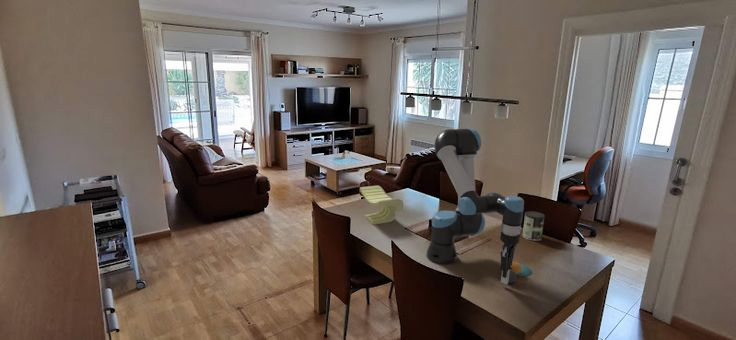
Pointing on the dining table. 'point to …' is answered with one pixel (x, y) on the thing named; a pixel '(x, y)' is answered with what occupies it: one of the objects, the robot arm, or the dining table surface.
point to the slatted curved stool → (381, 204)
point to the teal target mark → (524, 271)
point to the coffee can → (533, 225)
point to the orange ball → (516, 267)
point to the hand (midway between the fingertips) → (504, 282)
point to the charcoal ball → (512, 276)
